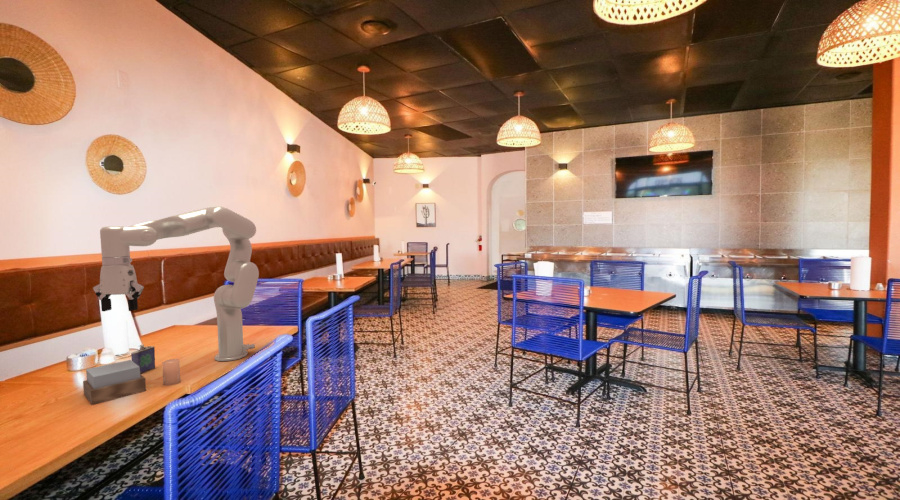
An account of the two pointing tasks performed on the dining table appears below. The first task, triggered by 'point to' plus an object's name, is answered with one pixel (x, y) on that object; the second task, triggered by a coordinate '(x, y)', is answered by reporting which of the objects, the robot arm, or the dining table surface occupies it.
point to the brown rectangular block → (171, 372)
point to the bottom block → (113, 390)
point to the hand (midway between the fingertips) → (120, 310)
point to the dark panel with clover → (144, 358)
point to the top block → (112, 374)
